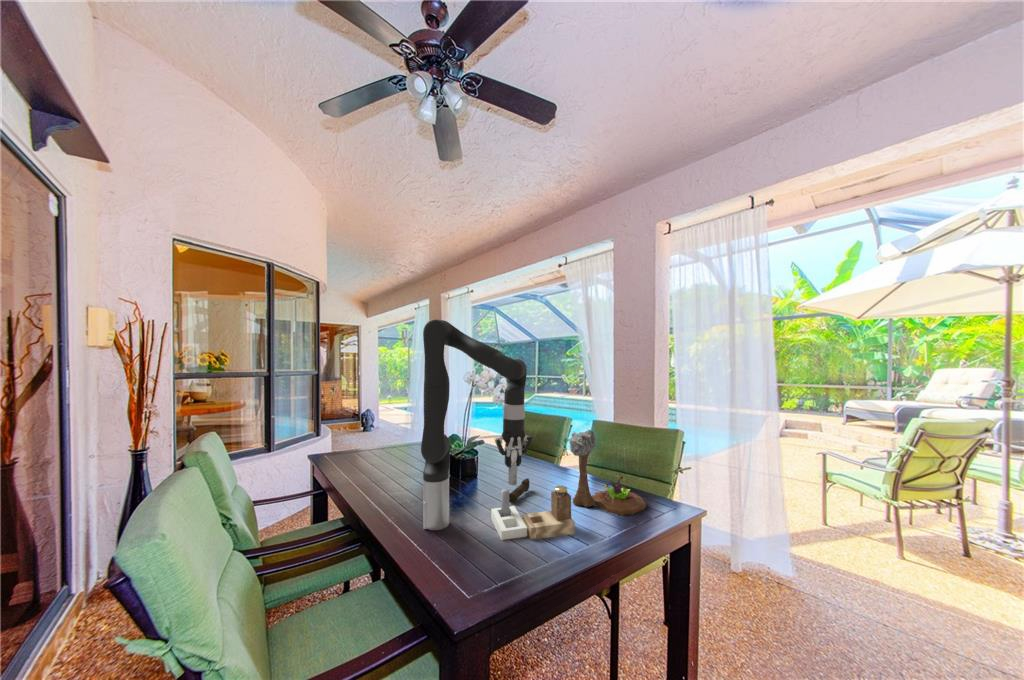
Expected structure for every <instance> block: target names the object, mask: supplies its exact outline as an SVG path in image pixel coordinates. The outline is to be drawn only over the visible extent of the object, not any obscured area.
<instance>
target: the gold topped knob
mask: <svg viewBox="0 0 1024 680" xmlns="http://www.w3.org/2000/svg"><path fill="white" fill-rule="evenodd" d="M554 491H555V492H557V495H558V496H565V493H566V492H568V487H567V486H565V485H556V486H554Z"/></svg>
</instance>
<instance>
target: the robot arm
mask: <svg viewBox="0 0 1024 680" xmlns="http://www.w3.org/2000/svg"><path fill="white" fill-rule="evenodd" d="M422 337H423V339H422V340H423V352H424V354H423V355H424V367H423V369H424V372H423V373H424V375H423V376H424V377H423V380H424V381H423V430H422V431H423V432H422V438H421V444H420V451H421V456H422V458H423V459H424V460H425V461H424V462H425V463H424V468H423V472H422V480H423V481H422V482H423V483H422V485H423V486H422V487H423V489H422V490H423V493H422V494H423V496H422V497H423V498H422V506H423V508H422V509H423V511H422V513H423V517H422V518H423V520H422V521H423V523H422V524H423V530H424V529H426V530H427V529H429V530H428V531H439V530H440V531H441V530H443V529H445V528H448V526H449V525H450V478H449V477H450V466H451V442H450V439H449V437H448V436H447V434H445V423H446V422H445V421H446V416H447V413H448V412H447V411H448V406H449V401H450V376H449V373H448V369H447V367H446V363H445V346H448V347H451V348H455V349H456V350H459V351H460V352H462V353H463V354H465V355H467V357H469V358H470V359H472V360H473V361H475V362H476V363H479V364H480V365H483V366H485V367H487V368H488V369H492V370H493V371H495V372H496V373H497V374H499V375H500V376H502V377H503V378H505V379H507V383H506V388H505V389H504V405H503V414H502V433H501V436H499V437H495V438H494V442H495V446H496V447H497V449H498V452H499V454H501V456H504V465H505V466H506V467H507V468H509V467H510V451H511V449H512V448H513V447H514V448H517V449H518V457H517V467H520V465H521V464H522V455H523V454H527V452H528V450H529V447H530V445H531V442H532V440H533V438H532V436H530V435H528V434H526V433H525V421H526V420H525V418H526V413H525V412H526V409H525V389H526V388H525V387H526V382H527V373H528V369H527V365H526V363H525V362H524V361H523V360H522V359H519V358H515V359H513V358H511V357H509V356H507V355H505V354H503V352H502V351H500V350H498V349H497V348H495V347H493V346H491V345H488V344H487V343H484V342H481V341H479V340H477V339H475V338H473V337H471V336H469V335H467V334H466V333H464V332H462V331H461V330H460V329H458V328H457V327H455V326H454V325H453V324H452V323H450V322H448V321H447V320H443V319H437V318H436V319H435V318H433V319H430V320H428V321H427V322H426V323H425V325H424V327H423V333H422ZM503 442H505V443H504V448H503V445H502V444H503ZM522 442H523V443H522Z"/></svg>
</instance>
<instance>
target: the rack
mask: <svg viewBox="0 0 1024 680" xmlns="http://www.w3.org/2000/svg"><path fill="white" fill-rule="evenodd" d="M500 493H501V494H500V497H501V498H500V500H501V501H500V504H501V507H495V508H491V511H490V512H491V514H490V515H491V516H490V517H491V521H492V523H493V525H494V527H495V529H496V531H497V533H498V535H499V537H500V540H502V541H504V540H511V539H520V538H525V537H528V535H527V527H526V525H525V523H524V522H523V520H522V517H521V515H520V513H519V512H518V510H517V508H516V506H515V505H510V502H509V493H510V489H508V488H503V489H501V490H500Z"/></svg>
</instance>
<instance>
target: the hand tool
mask: <svg viewBox="0 0 1024 680" xmlns="http://www.w3.org/2000/svg"><path fill="white" fill-rule="evenodd" d="M529 489H530V479H529V478H525V479H523V480H522V481H521V483H520V484H519V486H517V487H516V488H515V489H513V490H512V491H511V492H509V504H510V503H511V504H513V503H516V501H517V500H518V499H519V498H520V496H522V495H523V494H524V493H525V492H526V493H527V492H528V491H529Z"/></svg>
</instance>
